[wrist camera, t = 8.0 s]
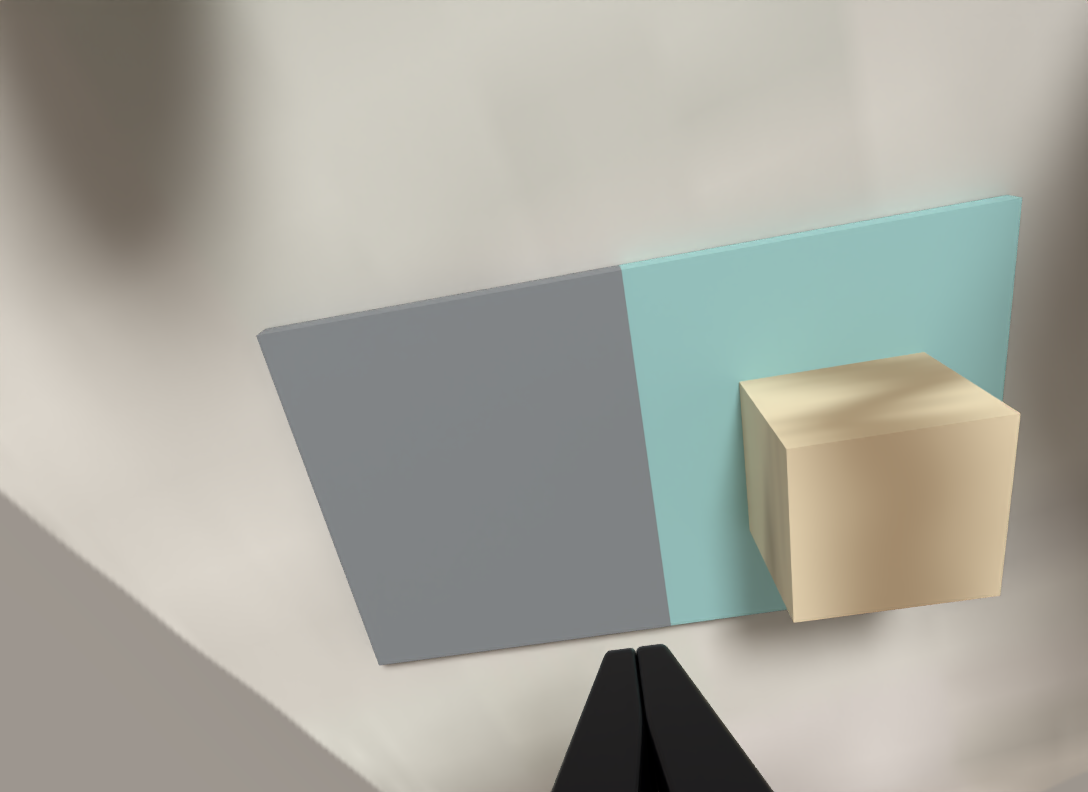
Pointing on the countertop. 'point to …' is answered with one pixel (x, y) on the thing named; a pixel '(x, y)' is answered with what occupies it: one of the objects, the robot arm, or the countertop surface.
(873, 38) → the countertop surface
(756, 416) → the beech block
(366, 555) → the runner mat
